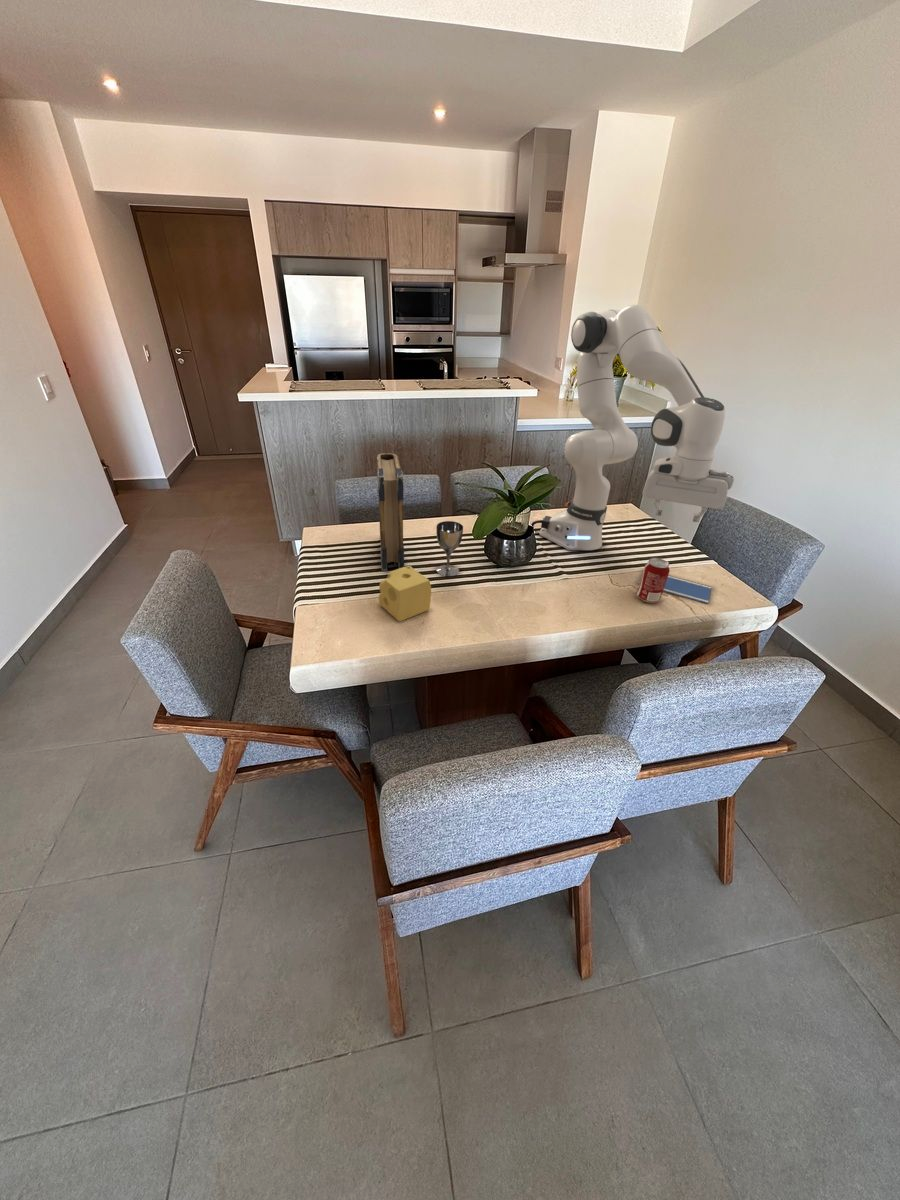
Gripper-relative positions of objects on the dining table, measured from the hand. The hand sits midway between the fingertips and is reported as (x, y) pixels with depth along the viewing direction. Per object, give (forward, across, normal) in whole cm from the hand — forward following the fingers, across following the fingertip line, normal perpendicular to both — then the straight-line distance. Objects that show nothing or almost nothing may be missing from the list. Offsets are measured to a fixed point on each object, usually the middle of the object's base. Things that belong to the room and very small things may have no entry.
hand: (676, 518), depth 134 cm
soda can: (+26, +2, +1) cm, 26 cm away
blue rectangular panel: (+25, -5, -11) cm, 28 cm away
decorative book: (+24, +82, +13) cm, 86 cm away
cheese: (+25, +62, +40) cm, 78 cm away
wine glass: (+24, +61, +15) cm, 67 cm away
